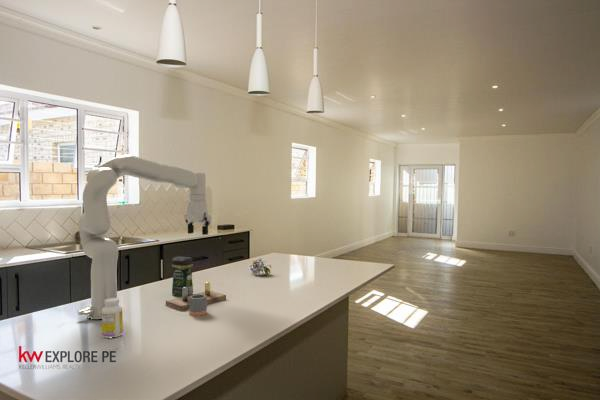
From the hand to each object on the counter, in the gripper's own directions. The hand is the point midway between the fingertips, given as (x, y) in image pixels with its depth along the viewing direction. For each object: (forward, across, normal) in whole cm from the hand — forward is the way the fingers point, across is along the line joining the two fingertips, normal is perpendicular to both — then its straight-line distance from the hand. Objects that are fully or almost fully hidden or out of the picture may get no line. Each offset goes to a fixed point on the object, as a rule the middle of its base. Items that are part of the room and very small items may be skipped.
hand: (197, 233), depth 197 cm
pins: (+28, +8, -9) cm, 30 cm away
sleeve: (+30, +21, -20) cm, 41 cm away
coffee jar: (+30, -7, -3) cm, 31 cm away
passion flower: (+30, -3, +53) cm, 61 cm away
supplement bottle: (+30, +14, -54) cm, 64 cm away
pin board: (+30, +8, -9) cm, 32 cm away
